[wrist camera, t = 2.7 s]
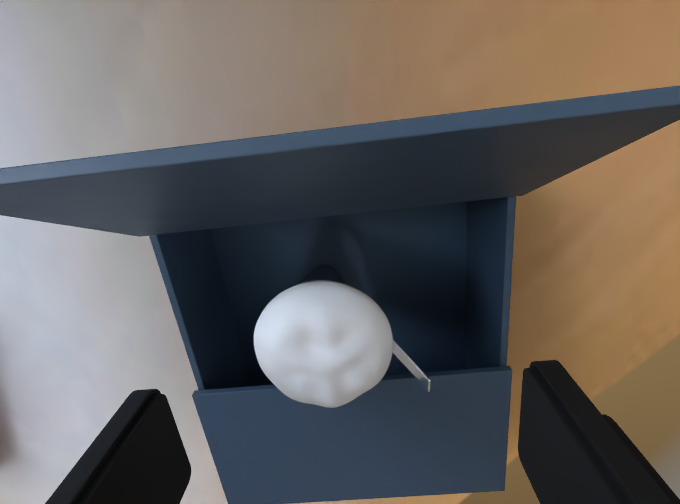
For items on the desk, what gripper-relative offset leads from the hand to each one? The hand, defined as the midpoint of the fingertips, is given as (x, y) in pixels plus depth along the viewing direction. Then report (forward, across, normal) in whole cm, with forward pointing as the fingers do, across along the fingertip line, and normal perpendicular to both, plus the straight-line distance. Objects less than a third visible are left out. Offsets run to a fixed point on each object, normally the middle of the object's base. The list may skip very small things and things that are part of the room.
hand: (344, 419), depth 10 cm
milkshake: (+11, 0, 0) cm, 11 cm away
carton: (+11, 0, +3) cm, 12 cm away
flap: (+2, 0, -6) cm, 6 cm away
